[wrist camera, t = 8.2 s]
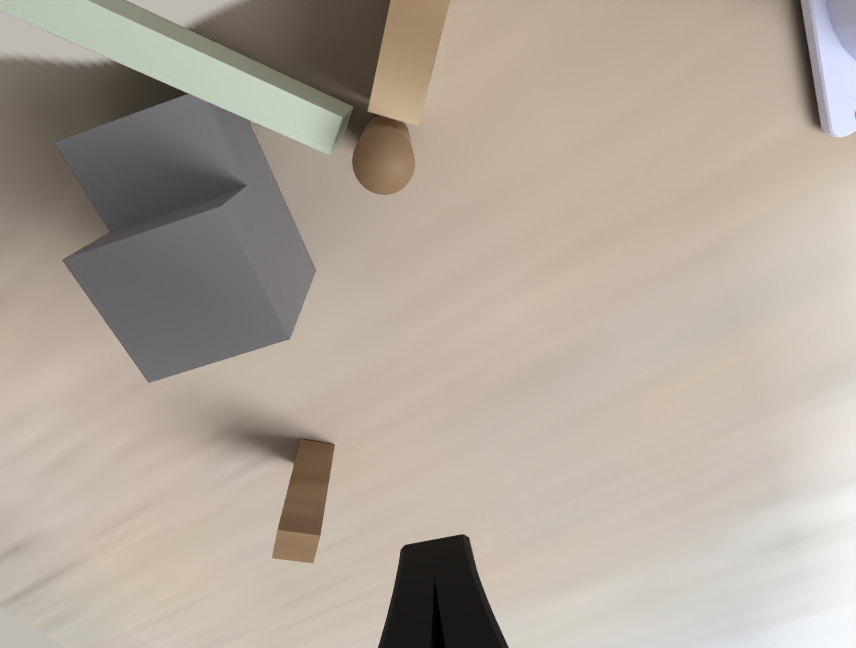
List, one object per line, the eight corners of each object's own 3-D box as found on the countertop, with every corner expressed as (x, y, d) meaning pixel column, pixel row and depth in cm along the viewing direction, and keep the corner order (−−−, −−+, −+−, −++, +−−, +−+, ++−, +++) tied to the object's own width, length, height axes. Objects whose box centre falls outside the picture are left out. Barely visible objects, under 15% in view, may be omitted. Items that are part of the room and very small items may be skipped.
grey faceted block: (234, 85, 14) (163, 93, 10) (316, 268, 17) (290, 338, 13) (110, 129, 15) (-11, 156, 10) (210, 303, 17) (148, 382, 13)
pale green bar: (353, 107, 14) (342, 117, 11) (334, 162, 15) (318, 186, 12) (-54, -84, 12) (-211, -137, 9) (-55, -8, 13) (-202, -32, 10)
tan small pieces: (403, -62, 13) (408, -119, 9) (454, -43, 13) (481, -91, 9) (295, 464, 21) (272, 558, 17) (328, 469, 21) (313, 563, 17)
